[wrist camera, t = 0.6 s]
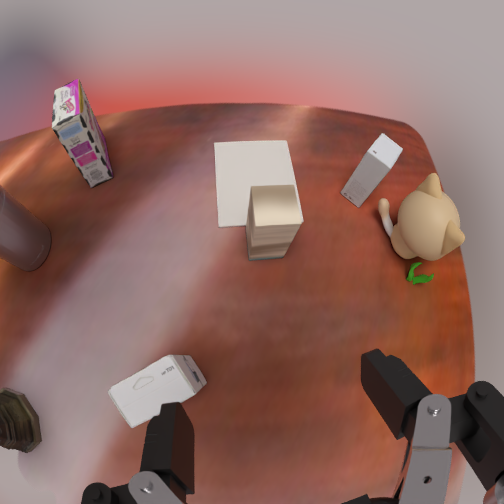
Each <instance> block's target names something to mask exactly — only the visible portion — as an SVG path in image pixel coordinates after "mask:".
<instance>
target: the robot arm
mask: <svg viewBox="0 0 504 504" xmlns="http://www.w3.org/2000/svg"><path fill="white" fill-rule="evenodd" d="M50 245H51V234H50V231H49V229H48V227H47V226H46V225H45V224H44V223H43V222H41V221H40V220H39V219H38V218H37V217H35V216H34V215H33V214H32V213H31V212H30V211H29V210H27V209H26V208H25V207H24V206H23V205H22V204H21V203H19V202H18V201H17V200H16V199H15V198H14V197H13V196H12V195H11V194H9V193H8V192H7V191H6V190H5V189H4V188H3V187H2V186H1V185H0V258H2V259H4V260H6V261H7V262H9V263H11V264H13V265H15V266H17V267H19V268H20V269H22V270H25V271H33V270H35V269H37V268H38V267H39V266H40V265H41V264H42V263H43V262H44V260H45V259H46V257H47V255H48V252H49V249H50ZM361 383H362V386H363V389H364V391H365V392H366V394H367V395H368V397H369V398H370V400H371V401H372V403H373V404H374V406H375V407H376V409H377V410H378V412H379V413H380V415H381V416H382V418H383V419H384V421H385V422H386V424H387V425H388V427H389V428H390V430H391V432H392V433H393V435H394V436H395V438H396V439H397V440H398V439H400V438H402V437H404V436H405V437H406V439H407V440H408V442H407V446H406V450H405V455H404V459H403V463H402V467H401V471H400V475H399V478H398V481H397V484H396V487H395V490H394V492H393V495H392V498H388V497H379V498H371V499H369V497H368V495H367V494H365V495H363V496H361V497H358V498H355V499H353V500H350V501H347V502H345V503H342V504H444V501H445V496H446V491H447V485H448V479H449V473H450V465H451V457H452V449H451V448H449V443H452V442H455V444H456V445H457V447H458V448H459V449H460V451H461V452H462V454H463V455H464V457H465V458H466V460H467V461H468V463H469V464H470V466H471V467H472V469H473V470H474V472H475V474H476V475H477V477H478V478H479V480H480V481H481V483H482V485H483V486H484V488H485V489H486V491H487V492H486V494H485V496H484V500H483V504H504V397H503V396H502V394H500V392H499V391H498V390H497V389H496V388H495V387H494V386H493V385H492V384H490V383H488V382H486V381H478V382H475V383H473V384H472V385H471V386H470V387H469V388H468V391H467V393H466V394H463V395H459V396H456V397H452V398H446V397H445V396H443V395H439V394H432V393H431V392H430V391H429V390H428V389H427V387H426V386H425V385H424V384H423V383H422V382H421V381H420V380H419V379H418V377H417V376H416V375H415V374H414V373H412V371H411V370H410V369H409V368H407V366H406V364H405V363H404V362H403V361H402V360H401V359H399V358H397V357H395V356H393V355H389V356H387V357H386V356H385V355H384V354H383V353H382V352H381V351H380V350H379V349H375V350H372V351H370V352H367V353H364V354H362V356H361ZM186 494H194V429H193V425H192V423H191V421H190V419H189V418H188V416H187V414H186V412H185V410H184V409H183V407H182V405H181V403H180V402H172V403H164V404H162V405H161V409H160V415H159V416H153V418H152V419H151V421H150V422H149V424H148V426H147V431H146V437H145V444H144V449H143V455H142V461H141V467H140V472H139V473H137V474H135V475H134V476H133V477H132V478H131V479H130V481H129V483H128V484H125V485H121V486H117V487H113V488H109V487H108V486H107V485H105V484H103V483H92V484H90V485H89V486H87V487H86V488H85V490H84V492H83V496H82V502H81V504H187V503H186Z"/></svg>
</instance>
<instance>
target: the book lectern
mask: <svg viewBox="0 0 504 504" xmlns="http://www.w3.org/2000/svg"><path fill="white" fill-rule="evenodd" d="M41 441H42V439H41V433H40V426H39V418H38V415H37V414H36V412H35V411H34V409H33V408H32V406H31V405H30V403H29V402H28V400H27V398H26V397H25V395H24V394H21V393H19V392H16V391H13V390H11V389H8V388H2V389H1V390H0V446H2V447H4V448H7V449H16V450H19V451H22V452H25V453H28V452H31V451H32V450H33V449H34V448H35V447H36V446H37V445H38V444H39V443H40V442H41Z"/></svg>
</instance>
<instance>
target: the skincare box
mask: <svg viewBox="0 0 504 504" xmlns="http://www.w3.org/2000/svg"><path fill="white" fill-rule="evenodd" d="M402 150H403V149H402V148H401V147H400V146H398V145H397V144H396V143H395V142H393V141H392V140H391V139H390V138H388V137H387V136H386V135H384V134H383V133H382V134H381V135H380V136H379V138H378V139H377V140H376V141H375V142H374V144H373V145H372V146H371V147H370V148H369V150H368V151H367V152H366V154H365V155H364V157H363V158H362V160H361V162H360V163H359V165H358V166H357V168H356V170H355V171H354V173H353V174H352V176H351V177H350V179H349V180H348V182H347V183H346V185H345V186H344V188H343V189H342V191H341V192H340V193H341V194H342V195H343V196H344V197H346V198H347V199H348V200H349V201H351V202H352V203H353V204H354V205H356V206H357V207H358V208H359V207H360V206H361V205H362V204H363V202H364V201H365V200H366V199H367V198H368V196H369V195H370V194H371V193H372V192H373V190H374V189H375V188H376V187H377V185H378V184H379V183H380V182H381V180H382V179H383V178H384V177H385V176H386V174H387V173H388V172H389V170H390V169H391V168H392V166H393V165H394V164H395V162H396V160H397V158H398V157H399V155H400V153H401V152H402Z"/></svg>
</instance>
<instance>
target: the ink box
mask: <svg viewBox="0 0 504 504" xmlns="http://www.w3.org/2000/svg"><path fill="white" fill-rule="evenodd" d="M206 384H207V382H206V380H205V378H204V376H203V374H202V373H201V371H200V369H199V368H198V366H197V365H196V363H195V362H194V360H193V359H192V357H191V356H190V355H168V356H165V357H163V358H161V359H160V360H158V361H156V362H154V363H153V364H151V365H149V366H148V367H146V368H145V369H143V370H141V371H139V372H137V373H135V374H134V375H132V376H130V377H129V378H126V379H124V380H123V381H121V382H119V383H117V384H115V385H114V386H112V387H111V388H110V389H109V390H108V394H109V395H110V397H111V399H112V400H113V402H114V404H115V405H116V407H117V408H118V410H119V412H120V413H121V415H122V416H123V418H124V419H125V420H126V422H127V423H128V425H129V426H130V427H131V428H133V427H135V426H137V425H139V424H141V423H143V422H145V421H147V420H149V419H151V418H153V416H157V415H159V414H160V409H161V405H162V404H164V403H172V402H180V403H181V402H183V401H185V400H187V399H188V398H190V397H192V396H194V395H195V394H196V393H197V392H198V391H199V390H200V389H201V388H202V387H203V386H205V385H206Z"/></svg>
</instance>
